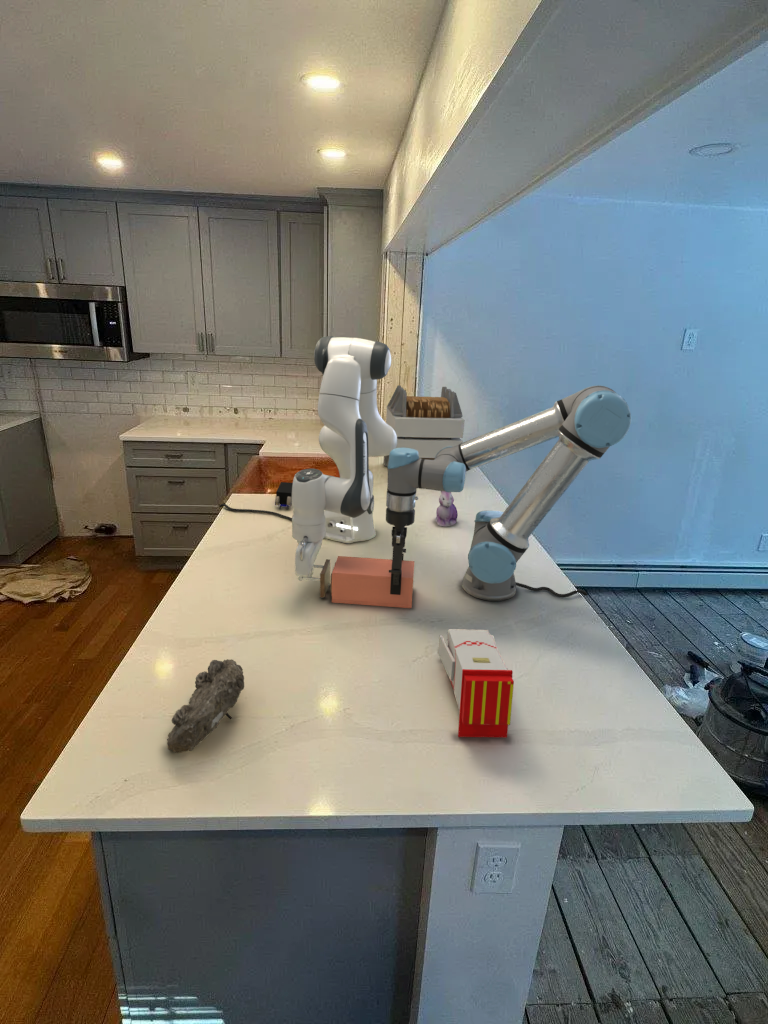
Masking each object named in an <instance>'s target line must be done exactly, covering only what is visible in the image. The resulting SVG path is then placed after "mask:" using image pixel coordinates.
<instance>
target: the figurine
mask: <svg viewBox="0 0 768 1024" xmlns="http://www.w3.org/2000/svg"><path fill="white" fill-rule="evenodd" d="M454 502H455V498H454V495H453V493H452V492H446V491H440V494H439V497H438V503H439V506H438V507H437V508H436V513H435V515H436V517H435V521H434V522H435V523H436V524H437V526H440V527H450V526H454V525H455V524H457V520H458V517H459V516H458V514H459V513H458V510H457V507H456V505H455V504H454Z"/></svg>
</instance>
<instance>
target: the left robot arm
mask: <svg viewBox="0 0 768 1024" xmlns="http://www.w3.org/2000/svg"><path fill="white" fill-rule="evenodd" d="M313 360H314V366H315V367H316V369H317V370H318V371H319V372H320V373H321V374H322V379H321V383H320V386H319V391H318V392H319V393H318V399H317V415H318V418H319V420H320V421H321V423H322V424H323V426H322V427H321V429H320V431H319V433H318V444H319V446H320V448H321V450H322V451H323V453H325V455H327V456H329V458H330V459H332V461H333V462H334V464H335V465H336V467H337V470H338V474H339V477H338V476H334V475H329V474H324V473H323V472H322V471H321V470H320V469H318V468H305V469H301V470H299V471H297V472H296V473H295V474H294V475H293V476H294V477H293V480H292V483H293V485H292V505H291V507H292V517H290V516H288V515H284V514H282V513H279V512H275V511H271V510H262V509H251V508H250V509H249V508H248V509H247V508H234V507H230V506H229V505H227V504H226V503H221V504H219V506H218V508H223V507H224V508H226V510H229V511H232V512H241V513H257V514H268V515H273V516H277V517H280V518H283V519H286V520H289V521H291V537H292V539H294V540H295V541H296V543H297V544H298V545H297V546H296V549H295V558H294V574H295V576H296V577H299V576H300V577H313V575H314V568H313V567H314V565H315V563H316V560H317V558H318V555H319V553H320V551H321V549H322V544H323V540H324V539H326V540H330V541H336V542H339V543H343V544H352V543H357V542H365V541H368V540H372V539H373V538H375V537H376V535H377V532H376V528H375V523H374V513H373V512H374V509H375V496H374V474H373V472H372V471H371V469H370V468H369V467H370V466H369V463H370V462H369V458H381V457H384V456H387V455H389V454H390V452H391V451H392V450H393V449H395V448H396V446H397V435H396V432H395V431H394V429H393V428H392V427H391V426H389V425H388V424H387V423H386V420H384V419H383V417H382V416H381V414H380V412H379V409H378V399H377V397H378V396H377V395H378V394H377V392H378V391H377V390H378V380H382V379H384V378H385V377H386V376H387V375H388V373H389V371H390V369H391V365H392V355H391V350H390V347H389V346H388V345H387V344H386V343H384V342H381V341H378V340H375V341H374V340H370V339H366V338H360V337H342V336H338V337H337V336H333V335H328V336H321V338H319V340H318V341H317V342H316V345H315V348H314V352H313Z"/></svg>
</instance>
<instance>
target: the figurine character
mask: <svg viewBox="0 0 768 1024" xmlns="http://www.w3.org/2000/svg"><path fill="white" fill-rule="evenodd" d="M292 485H293V482H286V481H285V482H284V481H280V483H279V486H278V487H277V490H276V491H275V497H274V498H275V499H274V506H278V509H279V510H282V507H285V508H286V510H288V509H289V507H290V506H292Z"/></svg>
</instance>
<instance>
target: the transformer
mask: <svg viewBox="0 0 768 1024" xmlns="http://www.w3.org/2000/svg"><path fill="white" fill-rule="evenodd" d="M440 393H441V394H440V396H415V395H414V396H413V395H412V396H411V395H407V394H408V393H407V390H406V389H404V388H403V387H402V385H399V384H398V385H397V386H396V388H395V390H394V392H393V394H392V395H391V398H390V400H389V402H388V404H387V405H386V413H385V414H386V415H385V422H386V423H387V424H388V425H389V426H391V427H392V428H393V429H394V431H395V432H396V435H397V446H396V448H410V449H415V450H417V451H418V453H419V458H421V459H427V460H434V459H435V457H436V455H437V453H438V452H439V451H440V450H442V449H443V448H445V447H449V446H450V447H453V446H456V445H459V444H461V443H463V442H464V441H463V440H462V439H463V438H464V431H465V430H464V429H465V419H464V418H463V411H462V408H461V405H460V402H459V398H458V395H457V392H455V391H453V390H452V389H451V388H447V386H442V387H441V392H440ZM388 463H389V455H387V456H383V466H384V467H387V468H388Z"/></svg>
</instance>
